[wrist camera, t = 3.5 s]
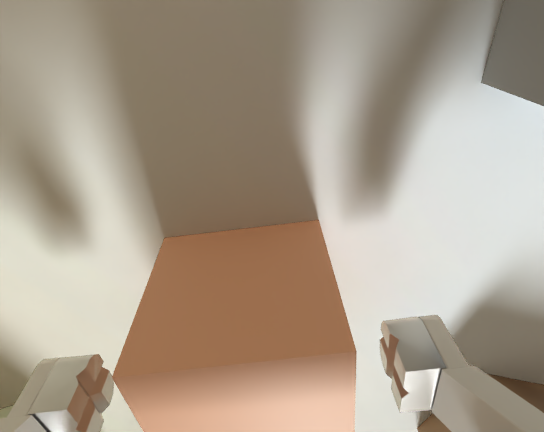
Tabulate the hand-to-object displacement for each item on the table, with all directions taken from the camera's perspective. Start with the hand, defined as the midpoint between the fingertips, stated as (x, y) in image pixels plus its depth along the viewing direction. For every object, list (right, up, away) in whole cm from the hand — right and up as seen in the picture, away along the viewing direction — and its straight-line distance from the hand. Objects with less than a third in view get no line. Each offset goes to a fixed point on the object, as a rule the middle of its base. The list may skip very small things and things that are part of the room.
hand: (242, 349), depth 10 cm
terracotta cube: (0, +1, +3) cm, 3 cm away
